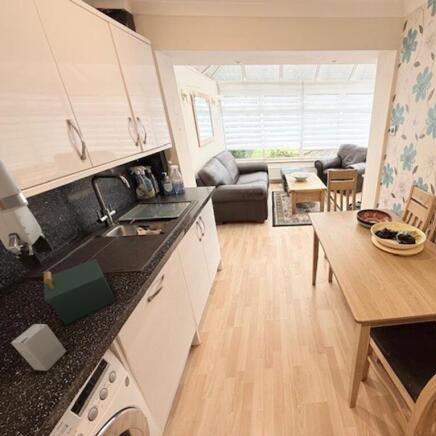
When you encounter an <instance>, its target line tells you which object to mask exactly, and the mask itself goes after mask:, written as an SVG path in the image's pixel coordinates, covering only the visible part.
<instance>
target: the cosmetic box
mask: <svg viewBox="0 0 436 436" xmlns="http://www.w3.org/2000/svg"><path fill="white" fill-rule="evenodd" d="M10 344H11V345H12V346H13V347H14V349H16V350H17V352H18V353H19V354H20V355H21V357H23V359H24V360H25V361H26V362H27V363H28V364H29V365H30V366H31V368H32V369H33V370H34V371H45V372H47V371H49V370H50V369H51V368H52V367H53V366H54V365H55V364H56V363H57V362H58V361H59V360H60V359H61V358H62V357H63V356H64V355H65V354H66V353H67V350H66V348H65V347H64V345H63V344H62V343H61V341H60V340H59V339H58V337H57V336H56V335H55V333H54V332H53V331H52V329H51V328H50V326H49V325H48V324H46V323H45V324H44V323H34V324H32V325H31V326H30V327H28V328H27V329H26V330H25V331H24V332H23V333H21V334H20V335H18V336H17V337H16V338H15V339H14V340H12V341H11V342H10Z"/></svg>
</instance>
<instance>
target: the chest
mask: <svg viewBox="0 0 436 436" xmlns="http://www.w3.org/2000/svg"><path fill="white" fill-rule="evenodd" d="M97 263H98V265H99V267H100V270H101V272H102V275H103V277H104V278H103V279H100V280H98V281H96V282H93V283H91V284H88V285H86V286H84V287H81V288H79V289H77V290H74V291H72V292H69V293H67V294H65V295H62V296H60V297H57V298H55V299H53V300H50V301H48V302H49V303H50V305H51V306H52V308H53V309H54V310H55V312H56V313H57V315H58V317H59V318H60V319H61V321H62V323H63V324H64V325H65V326H67V325H68V324H71V323H72V322H75V321H77V320H78V319H81V318H83V317H86V316H87V315H89V314H91V313H93V312H95V311H97V310H99V309H102V308H104V307H106V306H108V305H110V304H112V303H114V302H116V299H115V296H114V293H113V290H112V288H111V287H110V284H109V282H108V280H107V278H106V276H105V273H104V271H103V270H102V268H101V266H100V264H99V262H98V261H97Z"/></svg>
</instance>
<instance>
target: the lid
mask: <svg viewBox="0 0 436 436" xmlns="http://www.w3.org/2000/svg"><path fill="white" fill-rule="evenodd" d="M97 262H98V261H97V259H96V258H94V259H91V260H88V261H86V262H83V263H80V264H78V265H75V266H73V267H69V268H67V269H64V270H62V271H59V272H56V273H54V274H52V272H51V271H49V270H47V271H45V272H44V273H43V292H44V293H43V294H44V302H45V303H48V302H49V301H50V300H53V299H55V298H57V297H60V296H62V295H65V294H67V293H69V292H72V291H74V290H77V289H79V288H81V287H84V286H86V285H88V284H91V283H93V282H96V281H98V280H100V279H103V278H104V277H103V275H102V272H103V271H102V272H101V270H102V269H101V270H100V268H101V266H100V264H99V262H98V263H97ZM98 264H99V265H98ZM99 266H100V267H99Z"/></svg>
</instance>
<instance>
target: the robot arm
mask: <svg viewBox="0 0 436 436" xmlns="http://www.w3.org/2000/svg"><path fill="white" fill-rule="evenodd" d="M28 205H29V202H28V200H27V198H26V196H25V195H24V193H23V192H22V189H21V188H20V186H19V184H18V183H17V181H16V179H15V177H14V175H13V174H12V172H11V171H10V169H9V167H8V165H7V164H6V162H5V161H4V159H3V157H2V156H1V155H0V241H1V242H2V244H3V246H4V248H5V249H6V250H8V251H10V252H12V255H13V256H15V258H16V259H18V261H19V262H20V264H21V265H22V266H23V267H24V269H25V271H31V270H33V269H37V268H40V267H42V266H43V265H44V264H43V262H42V261H41V259H40V257H39V256H38V255H37V254H43V253H46V252H50V251H52V249H53V248H52V246H51V245H50V243H49V241H48V240H47V238H46V236H45V234H44V233H43V230H42V227H41V225H40V224H39V222H38V221H37V218H36V217H35V215H34V214H33V213H32V211H31V210H30V208H29V207H28ZM25 248H26V249H25ZM33 249H34V250H33ZM34 251H35V252H34Z"/></svg>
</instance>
